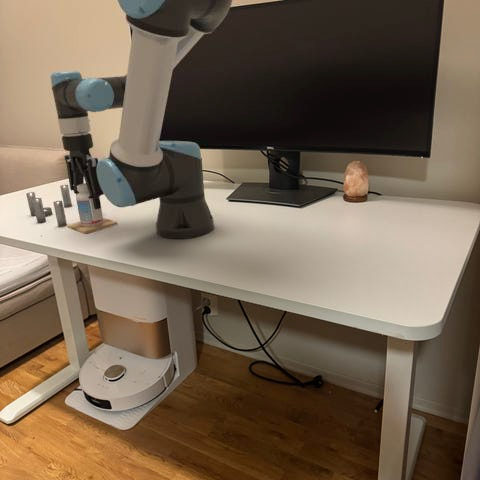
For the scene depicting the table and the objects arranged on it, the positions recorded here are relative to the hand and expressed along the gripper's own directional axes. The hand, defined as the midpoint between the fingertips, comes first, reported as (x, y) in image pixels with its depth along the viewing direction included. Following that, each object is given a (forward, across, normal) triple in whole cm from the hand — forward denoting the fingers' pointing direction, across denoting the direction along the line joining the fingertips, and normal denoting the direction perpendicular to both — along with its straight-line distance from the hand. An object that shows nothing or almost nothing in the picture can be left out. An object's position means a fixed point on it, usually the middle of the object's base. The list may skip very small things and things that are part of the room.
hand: (91, 217), depth 130 cm
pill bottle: (+2, 0, 0) cm, 2 cm away
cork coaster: (+2, 0, 0) cm, 2 cm away
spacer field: (+2, +17, -1) cm, 17 cm away
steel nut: (+3, +23, +3) cm, 23 cm away
